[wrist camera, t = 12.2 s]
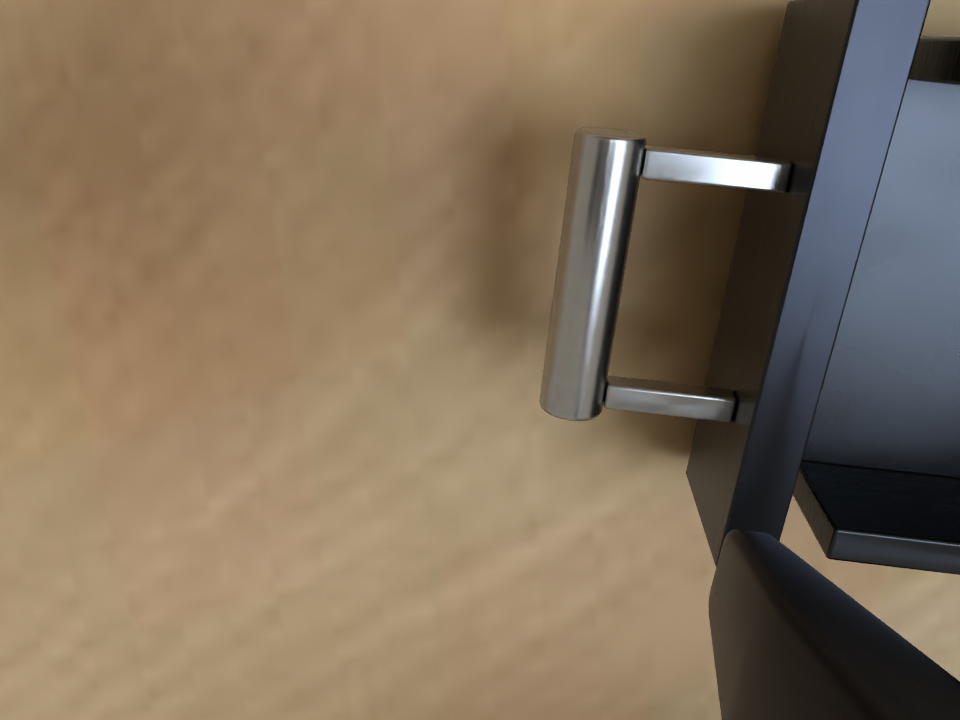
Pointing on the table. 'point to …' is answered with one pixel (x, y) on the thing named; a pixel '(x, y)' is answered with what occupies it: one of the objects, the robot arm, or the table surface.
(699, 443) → the drawer
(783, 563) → the robot arm
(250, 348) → the table surface
